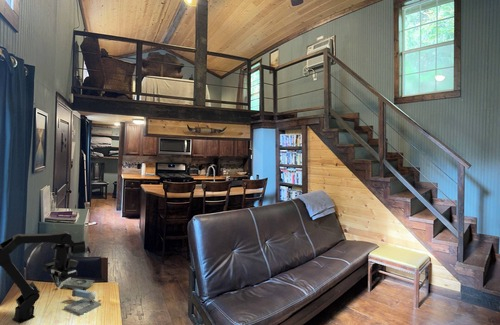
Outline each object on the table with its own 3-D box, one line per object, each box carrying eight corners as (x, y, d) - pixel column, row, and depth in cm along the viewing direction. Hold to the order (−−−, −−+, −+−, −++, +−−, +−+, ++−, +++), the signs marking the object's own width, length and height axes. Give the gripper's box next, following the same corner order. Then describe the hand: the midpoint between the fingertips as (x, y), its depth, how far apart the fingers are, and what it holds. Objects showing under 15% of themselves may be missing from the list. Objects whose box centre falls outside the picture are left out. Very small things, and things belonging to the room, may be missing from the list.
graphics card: (56, 284, 165) (69, 276, 177) (55, 291, 165) (69, 282, 177) (84, 287, 165) (96, 279, 177) (84, 294, 165) (95, 285, 177)
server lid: (80, 315, 142) (80, 311, 142) (64, 308, 147) (64, 304, 147) (101, 305, 153) (101, 301, 153) (85, 299, 158) (85, 295, 158)
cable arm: (71, 296, 155) (72, 290, 155) (75, 294, 158) (76, 287, 158) (92, 300, 153) (93, 294, 153) (96, 298, 156) (96, 291, 156)
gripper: (88, 256, 149) (84, 286, 149) (64, 248, 156) (61, 277, 156) (67, 262, 139) (63, 294, 139) (43, 253, 146) (39, 284, 146)
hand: (57, 286), depth 145 cm, fingers closed
